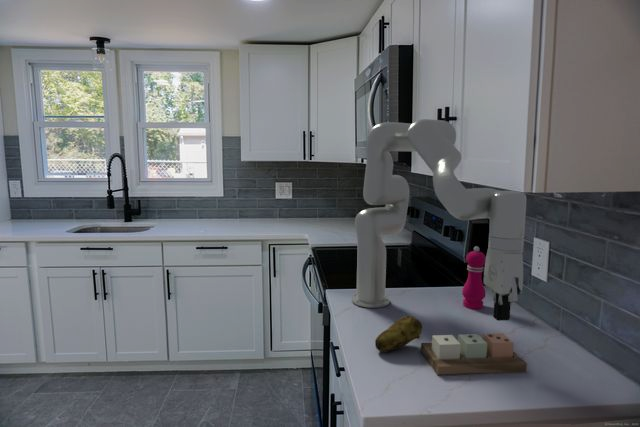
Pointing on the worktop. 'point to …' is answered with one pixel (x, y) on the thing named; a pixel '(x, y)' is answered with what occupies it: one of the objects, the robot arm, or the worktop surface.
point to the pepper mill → (474, 280)
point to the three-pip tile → (498, 345)
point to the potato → (399, 334)
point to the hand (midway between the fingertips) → (501, 319)
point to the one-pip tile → (445, 347)
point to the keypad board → (473, 364)
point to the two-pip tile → (472, 346)
